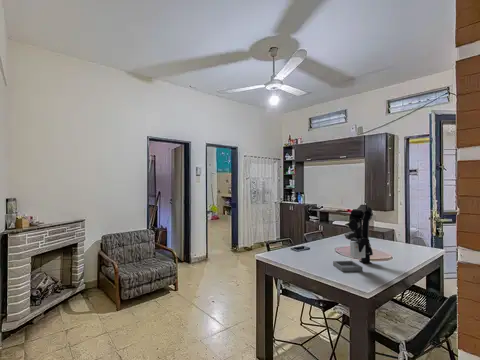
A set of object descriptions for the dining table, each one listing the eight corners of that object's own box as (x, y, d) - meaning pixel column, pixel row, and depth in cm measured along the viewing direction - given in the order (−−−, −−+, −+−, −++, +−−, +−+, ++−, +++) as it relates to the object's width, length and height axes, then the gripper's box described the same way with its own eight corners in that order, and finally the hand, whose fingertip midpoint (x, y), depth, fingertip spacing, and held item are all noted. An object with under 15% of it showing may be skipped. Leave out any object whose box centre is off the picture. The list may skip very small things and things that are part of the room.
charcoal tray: (333, 265, 187) (333, 261, 187) (352, 264, 188) (351, 260, 188) (342, 272, 173) (342, 267, 173) (362, 271, 174) (362, 267, 174)
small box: (361, 255, 180) (361, 240, 180) (365, 258, 174) (365, 242, 174) (350, 256, 179) (349, 240, 179) (354, 258, 174) (353, 242, 174)
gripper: (339, 225, 185) (339, 247, 185) (353, 230, 167) (353, 255, 167) (354, 225, 187) (354, 247, 186) (369, 230, 168) (370, 254, 168)
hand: (357, 250), depth 177 cm, fingers closed on small box, 6 cm apart
